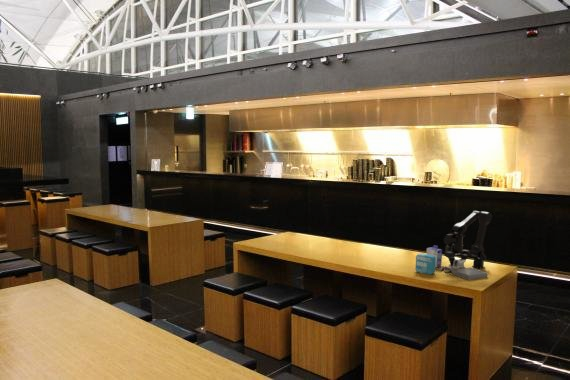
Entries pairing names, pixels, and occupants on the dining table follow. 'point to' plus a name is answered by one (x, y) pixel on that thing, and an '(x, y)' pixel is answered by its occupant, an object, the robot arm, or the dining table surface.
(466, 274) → the stand
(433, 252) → the ink cartridge box
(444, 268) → the bolt
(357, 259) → the dining table surface
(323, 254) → the dining table surface
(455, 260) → the block
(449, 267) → the stand
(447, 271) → the bolt
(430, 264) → the data package
